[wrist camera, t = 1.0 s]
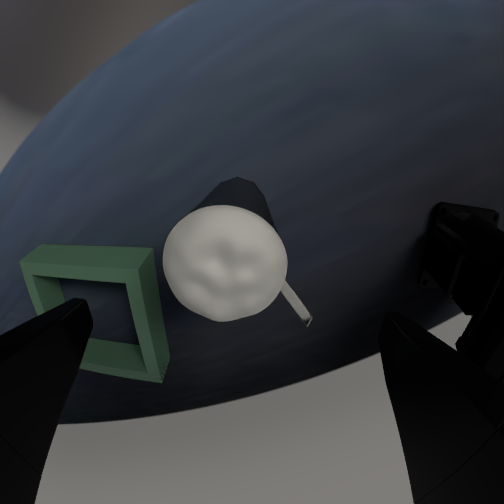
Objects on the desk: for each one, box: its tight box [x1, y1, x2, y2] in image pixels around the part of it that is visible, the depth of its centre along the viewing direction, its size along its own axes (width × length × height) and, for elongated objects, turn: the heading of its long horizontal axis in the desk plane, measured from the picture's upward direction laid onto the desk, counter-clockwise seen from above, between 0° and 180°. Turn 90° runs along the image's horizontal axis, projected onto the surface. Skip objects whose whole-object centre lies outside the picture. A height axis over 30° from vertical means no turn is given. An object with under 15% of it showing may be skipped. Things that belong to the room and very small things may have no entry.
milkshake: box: [163, 177, 313, 327], centre depth 14 cm, size 4×5×10 cm
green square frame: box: [19, 244, 170, 383], centre depth 20 cm, size 10×10×3 cm
